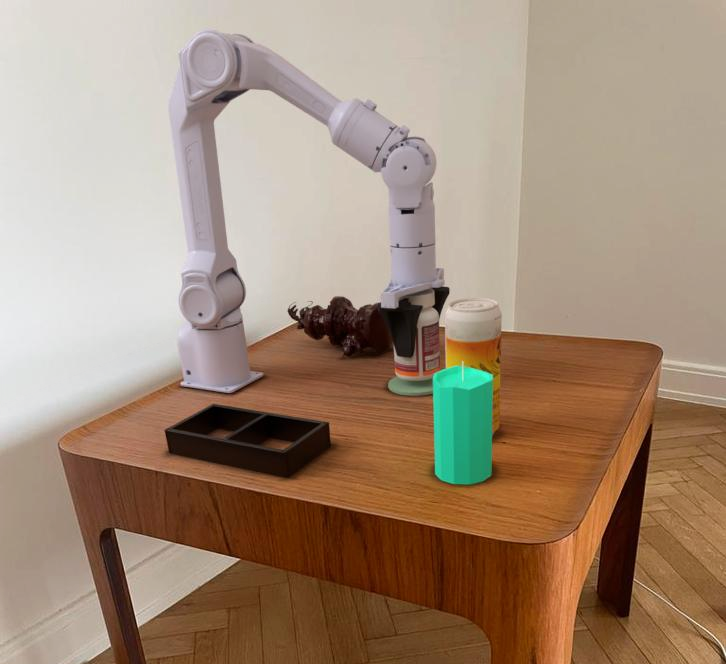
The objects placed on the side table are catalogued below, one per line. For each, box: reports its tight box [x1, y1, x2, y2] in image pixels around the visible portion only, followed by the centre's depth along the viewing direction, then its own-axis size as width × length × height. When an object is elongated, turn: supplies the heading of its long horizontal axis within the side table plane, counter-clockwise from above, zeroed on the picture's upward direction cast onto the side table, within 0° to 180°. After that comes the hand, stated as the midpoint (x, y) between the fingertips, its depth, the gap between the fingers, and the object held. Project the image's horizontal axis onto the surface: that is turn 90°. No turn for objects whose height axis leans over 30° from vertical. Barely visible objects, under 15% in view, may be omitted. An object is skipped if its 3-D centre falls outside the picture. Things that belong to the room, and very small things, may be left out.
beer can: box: [444, 297, 503, 436], centre depth 84 cm, size 6×6×15 cm
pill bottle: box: [393, 289, 441, 381], centre depth 99 cm, size 6×6×11 cm
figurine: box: [287, 295, 393, 359], centre depth 118 cm, size 10×10×18 cm
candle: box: [432, 361, 493, 485], centre depth 75 cm, size 6×6×12 cm
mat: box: [387, 375, 433, 397], centre depth 102 cm, size 8×8×1 cm
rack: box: [164, 403, 332, 479], centre depth 86 cm, size 17×9×3 cm, turn 61°
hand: (416, 348), depth 100 cm, fingers closed on pill bottle, 6 cm apart
